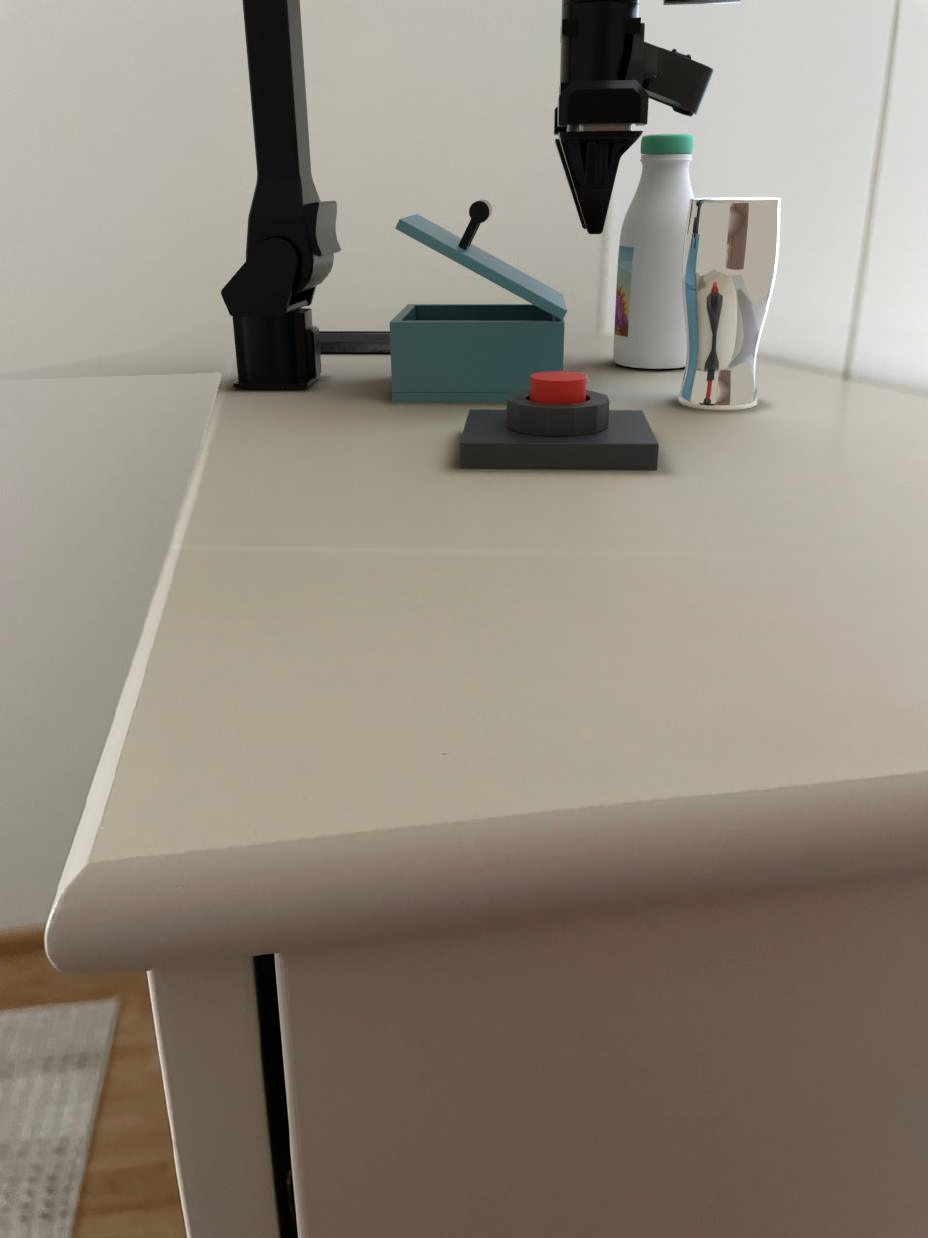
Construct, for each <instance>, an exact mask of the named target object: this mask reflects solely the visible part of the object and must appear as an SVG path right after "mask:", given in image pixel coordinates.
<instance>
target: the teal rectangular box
mask: <svg viewBox="0 0 928 1238" xmlns="http://www.w3.org/2000/svg"><path fill="white" fill-rule="evenodd" d="M565 326H566V324H565V317H564V318H563V320H561V319H559V318H557V317H555V316H553V315H552V314H550V313H548V312H546V311H544V310H542V309H541V308H539V307H537V306H535V305H533V304H532V303H407V304H406V305H405V306H404V307H403V308H402V309H401V310H400V311H399V312H398V313H397V314H396V315H395V316H394V317H393V318H392V319H390V321H389V331H390V349H391V352H390V371H391V372H390V373H391V376H390V378H391V401H392V403H507V396H508V395H509V394H513V393H516V392H519V391H522V390H530V376H531V375H532V374H534V373H539V372H548V371H564V364H565V363H564V360H565V359H564V357H565V329H566V328H565Z"/></svg>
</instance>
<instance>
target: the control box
mask: <svg viewBox="0 0 928 1238" xmlns="http://www.w3.org/2000/svg"><path fill="white" fill-rule="evenodd" d="M610 402H611V401H610V398H609V395H607V394H604V393H600V392H597V391H594V390H588V389H586V402H581V403H572V404H546V403H537V402H532V401H530V390H522V391H519V392H516V393H513V394H509V395H508V396H507V402H506V409H487V408H486V409H485V408H484V409H481V408H480V409H479V408H478V409H477V408H476V409H474V408H473V409H472V408H471V409H469V410H468V412H467V416H466V419H465V420H466V421H465V423H464V427H463V431H462V434H461V438H460V442H459V469H461V470H550V471H551V470H559V471H562V470H563V471H564V470H566V471H568V470H569V471H570V470H571V471H572V470H573V471H658V461H659V447H660V445H659V441H658V440H657V438H656V435H655V434H654V431H653V430H652V427H651V426H650V425H651V424H650V423H649V421H648V420H647V417H646V414H645V413H644V411H643V410H642V409H610Z"/></svg>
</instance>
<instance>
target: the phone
mask: <svg viewBox="0 0 928 1238" xmlns="http://www.w3.org/2000/svg"><path fill="white" fill-rule="evenodd" d="M319 338H320V353H391V349H390V330H387V331H386V330H385V331H384V330H383V331H382V330H381V331H380V330H379V331H378V330H377V331H376V330H373V331H371V330H357V331H356V330H349V331H348V330H345V331H344V330H339V331H338V330H319Z"/></svg>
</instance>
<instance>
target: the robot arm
mask: <svg viewBox="0 0 928 1238" xmlns="http://www.w3.org/2000/svg"><path fill="white" fill-rule="evenodd" d="M241 1H242V12H243V23H244V24H243V25H244V33H245V35H244V36H245V47H246V57H247V58H246V59H247V69H248V81H249V94H250V105H251V106H250V107H251V116H252V117H251V119H252V127H253V138H254V140H253V141H254V151H255V152H254V153H255V162H256V163H255V164H256V184H255V187H254V192H253V196H252V200H251V204H250V207H249V212H248V216H247V217H248V218H247V230H246V244H245V245H246V246H245V247H246V248H245V262H244V263H243V264H242V265H241V267H240V268H239V269H238V270H237V271H236V272H235V273H234V275H233V276H232V277H231V278H230V280H228V282H226V284H225V285H224V286H223V288H221V291H220V295H221V297H222V300H223V302H224V305H225V306H226V309H227V311H228V314H229V316H231V317H232V326H233V327H232V328H233V336H234V348H235V359H236V361H235V362H236V371H237V379H235V380H234V381H233V382H232V388H233V389H307V388H309V387H311V385H312V384H313V383H314V382H315V381H317V380H318V379H319V378H320V377H321V374H322V357H321V355H322V354H321V352H320V338H319V331H320V328H319V326H317V325H313V314H312V313H313V312H312V308H309V306H311V305H312V302H313V300H314V297H315V292H316V289H317V286H320V284H322V283H323V282H324V281H325V280H326V278H327V277H328V276H329V274H330V273H331V272H332V269H333V267H334V259H335V254H336V253H340V252H341V251H342V248H341V245H340V243H339V241H338V237H337V231H336V230H337V229H336V228H337V218H338V217H337V215H338V203H337V201H336V200H323V201H321V199H320V196H319V193H318V191H317V188H316V185H315V182H314V179H313V174H312V162H311V149H310V134H309V119H308V118H309V117H308V106H307V105H308V104H307V102H308V101H307V89H306V88H307V87H306V75H305V74H306V73H305V59H304V57H305V56H304V45H303V44H304V43H303V30H302V29H303V27H302V15H301V14H302V13H301V1H300V0H241ZM662 2H663V3H662V5H663V6H681V5H682V6H683V5H684V6H685V5H710V4H712V5H714V4H740V3H741V2H742V0H662ZM639 5H640V0H561V18H560V29H559V31H560V33H559V43H560V60H559V61H560V62H559V87H558V98H557V106H556V107H555V108H554V111H553V136H558V138H555V139H554V144H555V147H556V150H557V153H558V157H559V159H560V163H561V165H562V168H563V172H564V175H565V179H566V181H567V184H568V187H569V190H570V193H571V196H572V199H573V204H574V206H575V209H576V212H577V216H578V219H579V222H580V225H581V227H582V229H583V230H586V231H587V234H589V235H601V234H603V232H604V229H605V225H606V220H607V216H608V211H609V207H610V203H611V198H612V194H613V189H614V186H615V182H616V179H617V178H616V177H617V174H618V169H619V165H620V162H621V158H622V156H624V154H625V153H626V152H627V151H628V150H629V149H630V148H631V147H632V146H633V145H634V144H635V143H636V142H637V141H638V140H639V139H640V138H642V137H643V135H644V130H632V128H633V125H635V126H636V127H639V126H643V127H644V126H646V125H648V120H649V119H648V118H649V101H650V100H652V101H655V102H657V103H659V104H663V105H665V106H668V107H671V108H672V110H673V112H675V113H677V114H680V115H682V116H687V117H693V116H694V115H697V114H698V113H699V110H700V108H701V106H702V103H703V101H704V98H705V95H706V92H707V90H708V88H709V86H710V83H711V81H712V78H713V76H714V74H715V69H713V68H712V67H710V66H708V65H706V64H704V63H701V62H699V61H696V60H694V59H692V55H691V54H689V53H688V54H683V53H681V52H679V51H678V49H676V48H675V47H674V48H672V50H668V49H666V48H665V47H660V46H657V45H655V44H652V43H650V42H647V41H645V33H646V23H645V22H642V17H640V16H639V15H640V6H639ZM305 307H306V308H305Z"/></svg>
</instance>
